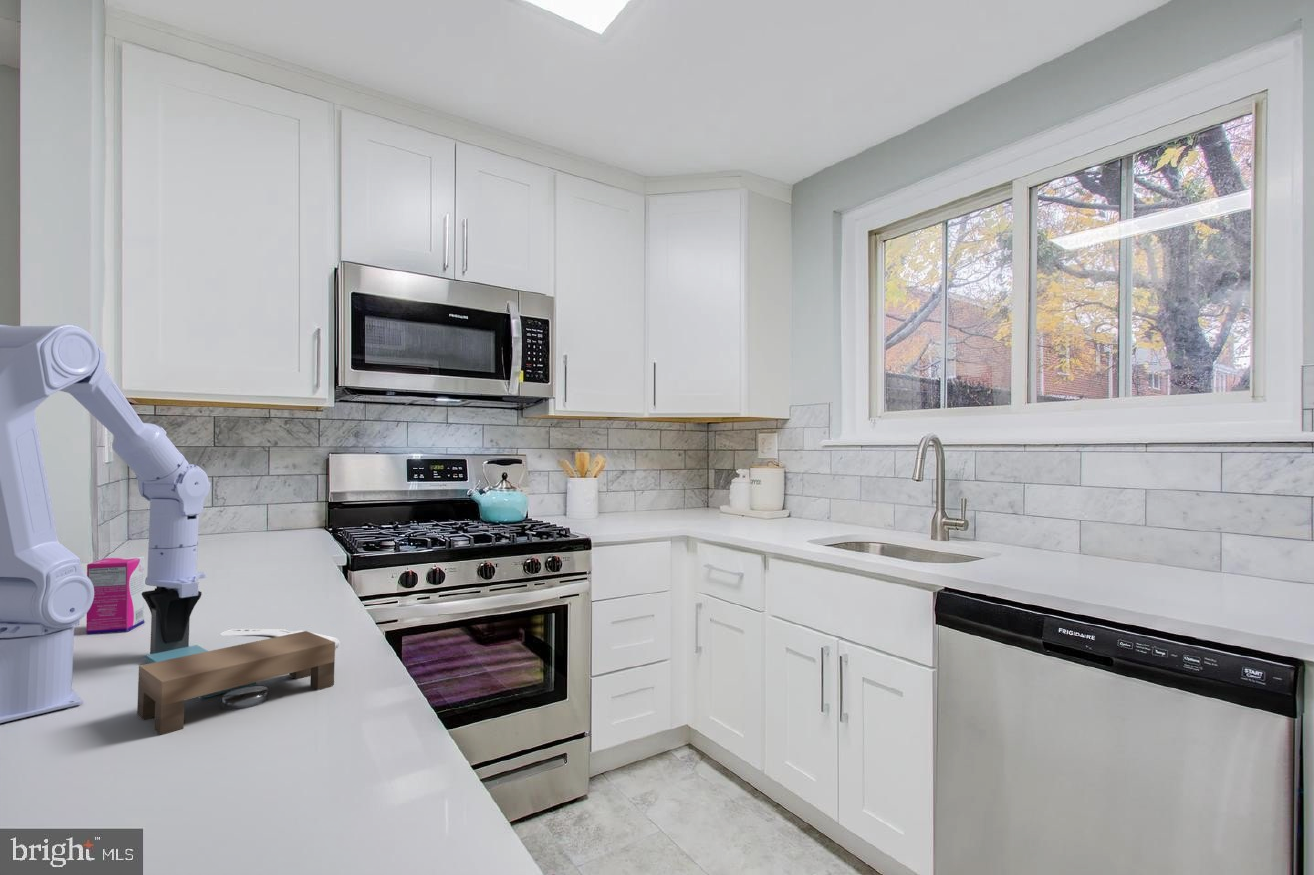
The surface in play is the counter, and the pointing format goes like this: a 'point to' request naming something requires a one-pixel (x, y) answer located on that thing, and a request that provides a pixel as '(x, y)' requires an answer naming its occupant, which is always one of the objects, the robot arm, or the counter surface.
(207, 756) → the counter surface
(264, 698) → the steel token
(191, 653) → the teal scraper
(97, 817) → the counter surface
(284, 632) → the knife
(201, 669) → the low wooden stool
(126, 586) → the supplement box
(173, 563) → the robot arm
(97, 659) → the counter surface
